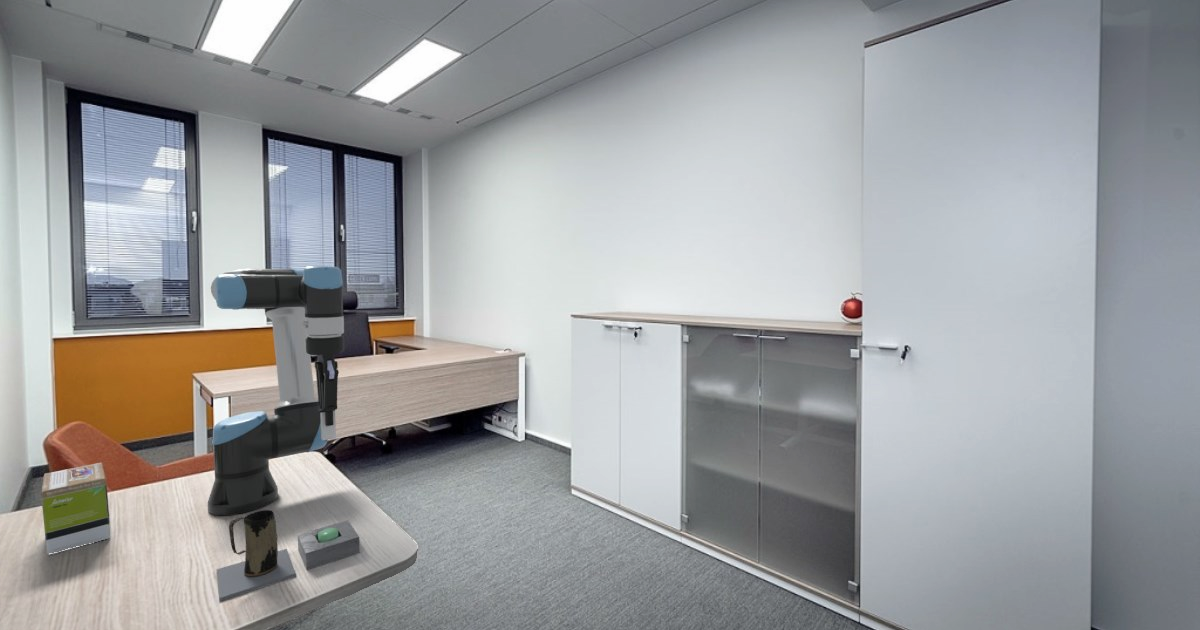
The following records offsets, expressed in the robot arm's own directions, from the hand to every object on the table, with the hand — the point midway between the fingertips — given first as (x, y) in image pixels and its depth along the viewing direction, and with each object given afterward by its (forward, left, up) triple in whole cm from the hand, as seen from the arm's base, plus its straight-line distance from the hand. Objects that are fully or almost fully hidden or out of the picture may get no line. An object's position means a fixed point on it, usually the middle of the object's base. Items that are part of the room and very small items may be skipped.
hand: (328, 438), depth 112 cm
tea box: (-38, -45, -23) cm, 63 cm away
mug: (+7, -15, -22) cm, 28 cm away
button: (+7, -2, -22) cm, 23 cm away
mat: (+7, -15, -23) cm, 28 cm away
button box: (+7, -2, -23) cm, 24 cm away
